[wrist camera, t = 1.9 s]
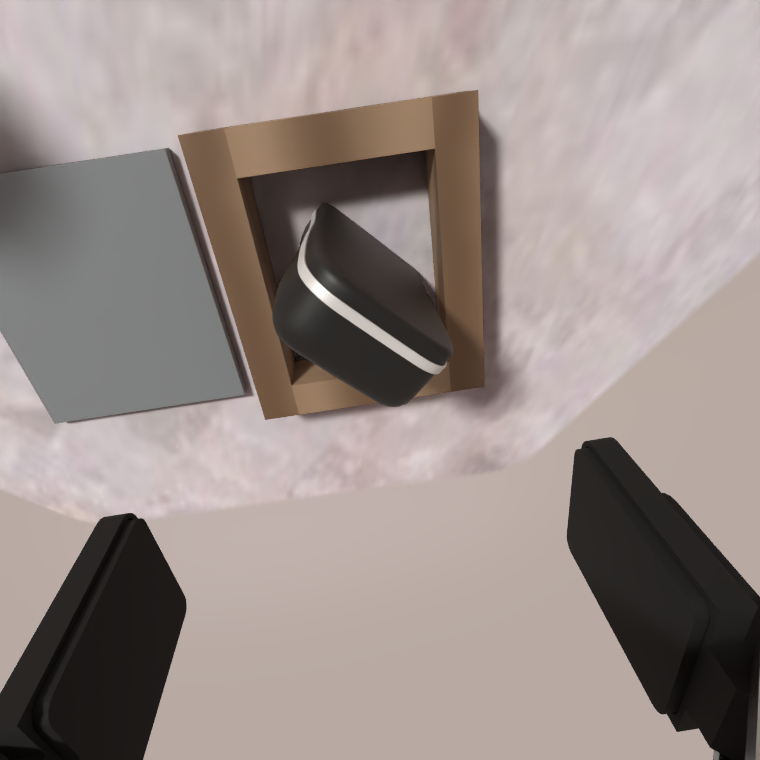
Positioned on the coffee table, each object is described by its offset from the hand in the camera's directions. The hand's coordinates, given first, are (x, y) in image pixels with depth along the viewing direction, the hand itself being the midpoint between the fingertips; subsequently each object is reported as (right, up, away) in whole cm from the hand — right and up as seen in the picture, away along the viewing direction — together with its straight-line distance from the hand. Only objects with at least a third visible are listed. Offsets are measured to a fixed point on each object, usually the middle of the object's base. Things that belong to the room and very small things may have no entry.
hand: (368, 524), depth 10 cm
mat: (-15, +8, +16) cm, 24 cm away
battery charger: (-1, +10, +17) cm, 19 cm away
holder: (-1, +10, +16) cm, 19 cm away
